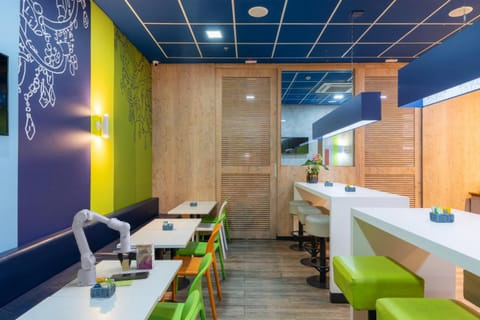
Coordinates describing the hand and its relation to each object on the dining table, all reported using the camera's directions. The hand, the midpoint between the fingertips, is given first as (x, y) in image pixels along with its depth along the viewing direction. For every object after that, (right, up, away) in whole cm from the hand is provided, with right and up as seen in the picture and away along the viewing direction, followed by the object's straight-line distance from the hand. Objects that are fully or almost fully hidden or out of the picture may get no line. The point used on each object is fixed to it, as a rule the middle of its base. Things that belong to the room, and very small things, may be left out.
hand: (126, 264), depth 185 cm
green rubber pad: (+2, -8, -8) cm, 12 cm away
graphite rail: (+2, -8, 0) cm, 9 cm away
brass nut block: (0, -3, 0) cm, 3 cm away
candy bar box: (+7, -8, +17) cm, 20 cm away
